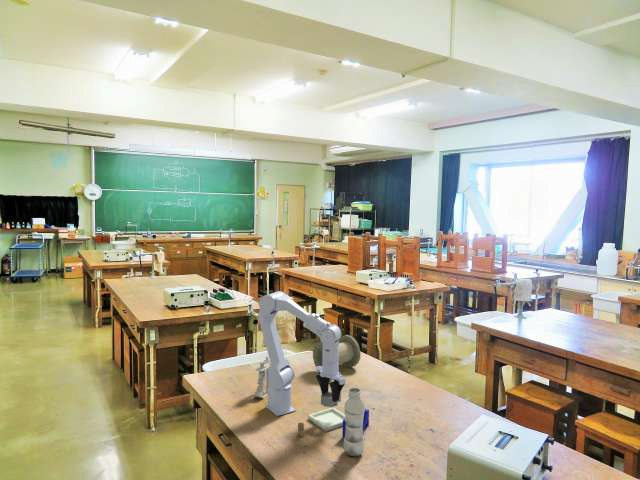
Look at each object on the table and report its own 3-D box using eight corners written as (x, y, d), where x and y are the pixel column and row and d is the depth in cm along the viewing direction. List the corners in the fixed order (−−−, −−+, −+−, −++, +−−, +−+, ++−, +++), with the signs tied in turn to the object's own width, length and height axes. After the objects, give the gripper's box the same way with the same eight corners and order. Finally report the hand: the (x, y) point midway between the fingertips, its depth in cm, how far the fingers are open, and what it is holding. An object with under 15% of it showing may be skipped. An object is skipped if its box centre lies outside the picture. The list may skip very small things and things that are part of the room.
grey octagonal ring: (318, 402, 157) (318, 393, 157) (334, 398, 162) (334, 389, 161) (327, 408, 153) (328, 399, 152) (344, 403, 157) (344, 395, 157)
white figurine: (250, 400, 173) (250, 363, 172) (261, 390, 182) (261, 355, 181) (260, 401, 172) (260, 364, 171) (270, 392, 181) (270, 356, 180)
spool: (335, 379, 196) (335, 345, 195) (312, 369, 207) (313, 338, 206) (360, 370, 207) (360, 338, 206) (337, 361, 218) (338, 332, 217)
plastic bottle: (362, 447, 140) (363, 385, 139) (365, 459, 133) (366, 395, 132) (342, 447, 140) (343, 385, 138) (344, 459, 133) (345, 395, 132)
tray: (308, 418, 159) (308, 414, 159) (333, 411, 165) (333, 407, 165) (326, 431, 150) (326, 427, 150) (351, 423, 156) (351, 419, 156)
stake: (296, 435, 147) (296, 423, 147) (301, 433, 148) (301, 422, 148) (299, 437, 145) (299, 426, 145) (304, 436, 147) (305, 424, 146)
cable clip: (353, 442, 144) (354, 424, 143) (342, 437, 146) (342, 420, 146) (372, 427, 153) (372, 411, 153) (361, 423, 156) (361, 407, 155)
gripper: (309, 356, 159) (309, 393, 160) (333, 368, 147) (333, 408, 148) (325, 352, 163) (325, 388, 164) (350, 364, 152) (349, 402, 152)
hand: (330, 397), depth 157 cm, fingers closed on grey octagonal ring, 6 cm apart
